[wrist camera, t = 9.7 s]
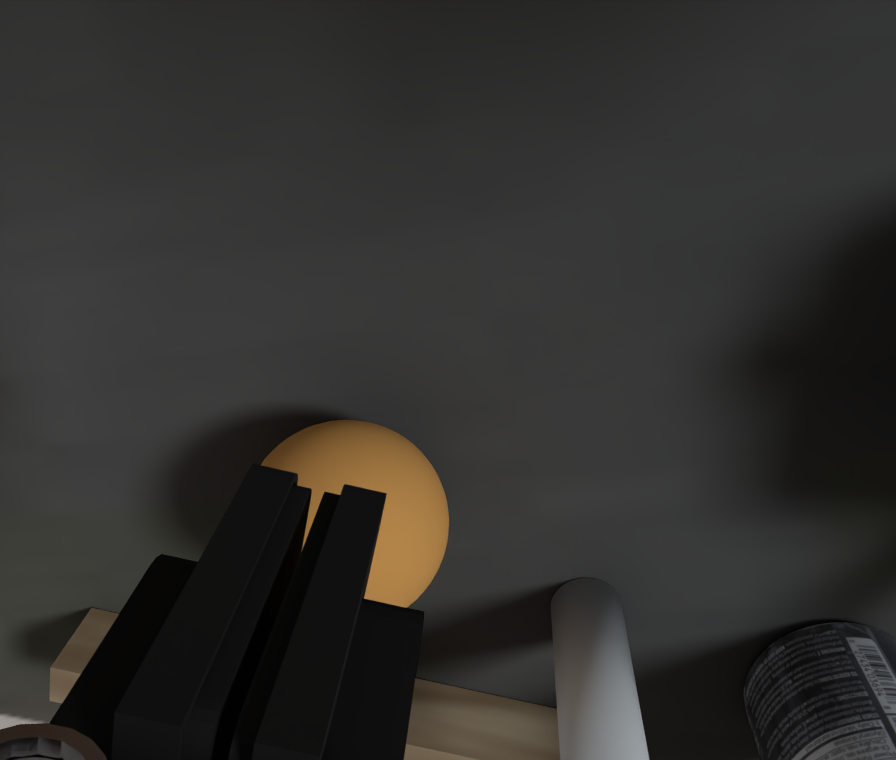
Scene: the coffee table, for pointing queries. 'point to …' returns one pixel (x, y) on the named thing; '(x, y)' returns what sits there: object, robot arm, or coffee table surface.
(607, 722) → the grey pin
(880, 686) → the pill bottle
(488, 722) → the tan wooden bar
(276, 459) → the ball
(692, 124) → the coffee table surface
